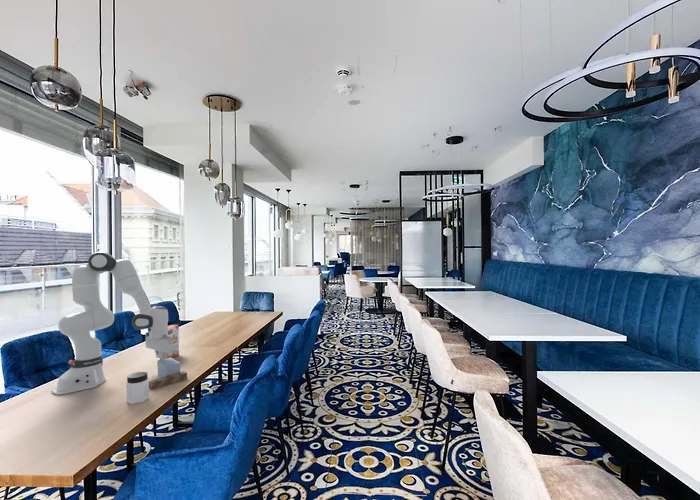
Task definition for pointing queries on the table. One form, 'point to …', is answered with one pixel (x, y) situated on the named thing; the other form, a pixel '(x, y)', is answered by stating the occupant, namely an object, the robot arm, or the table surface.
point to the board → (167, 380)
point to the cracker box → (174, 335)
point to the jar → (137, 387)
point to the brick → (168, 367)
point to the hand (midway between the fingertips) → (159, 357)
